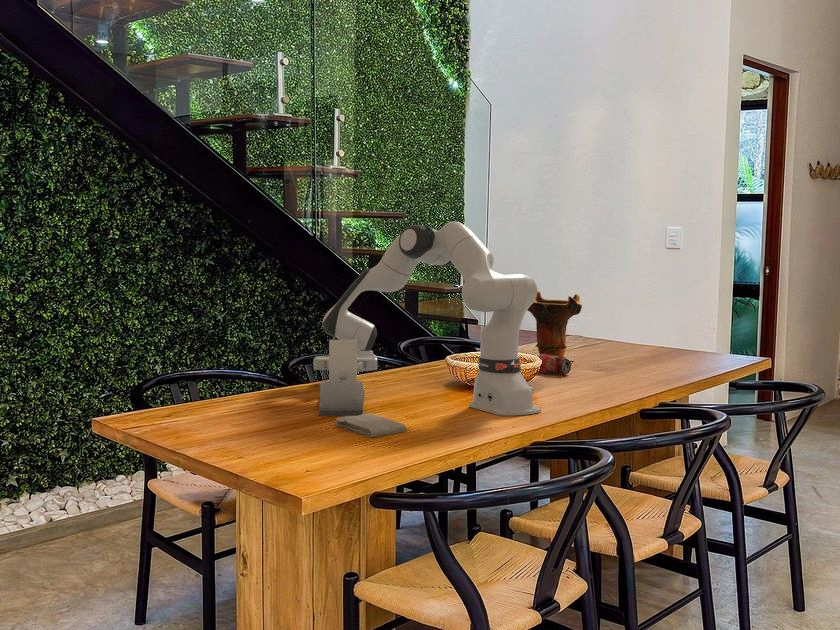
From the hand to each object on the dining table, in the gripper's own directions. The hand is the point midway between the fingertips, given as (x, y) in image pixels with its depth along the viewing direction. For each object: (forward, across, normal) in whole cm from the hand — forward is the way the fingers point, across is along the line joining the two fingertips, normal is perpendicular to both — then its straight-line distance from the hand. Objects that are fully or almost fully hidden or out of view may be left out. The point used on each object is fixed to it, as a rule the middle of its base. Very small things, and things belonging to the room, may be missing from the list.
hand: (344, 367), depth 275 cm
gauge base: (+14, 0, +9) cm, 17 cm away
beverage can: (-41, +74, +9) cm, 85 cm away
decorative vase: (-72, +78, +9) cm, 107 cm away
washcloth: (+44, +8, +10) cm, 46 cm away
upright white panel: (+13, -1, +7) cm, 15 cm away
